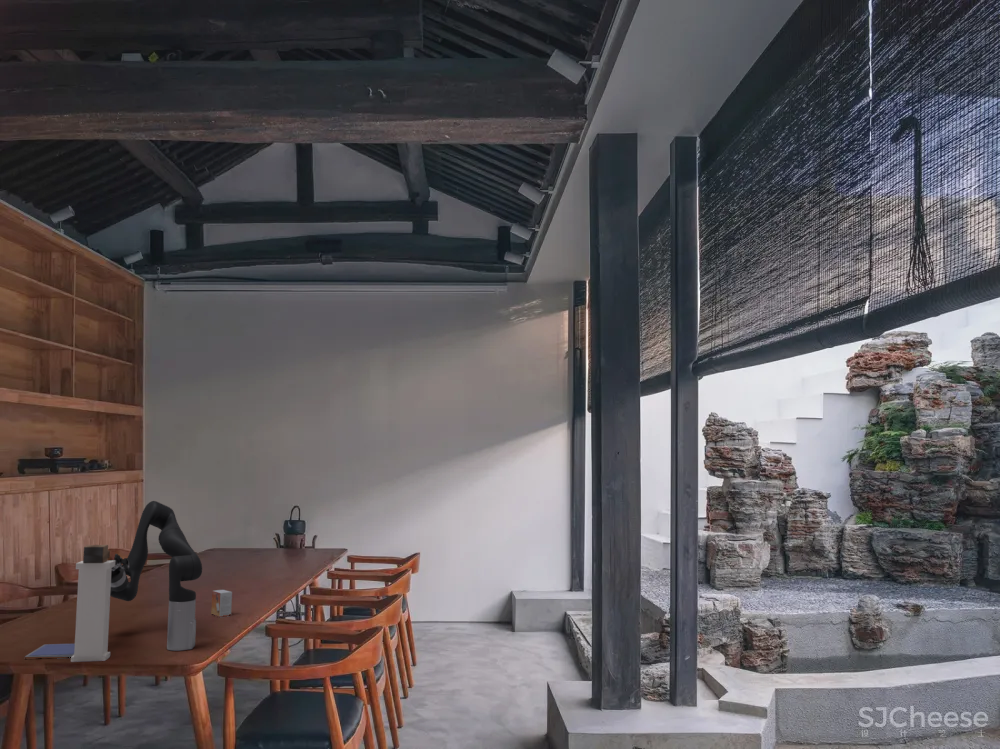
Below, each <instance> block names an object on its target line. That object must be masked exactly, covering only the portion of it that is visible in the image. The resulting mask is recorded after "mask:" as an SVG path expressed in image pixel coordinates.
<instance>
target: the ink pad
mask: <svg viewBox="0 0 1000 749" xmlns="http://www.w3.org/2000/svg"><path fill="white" fill-rule="evenodd" d="M74 649H75V643H51V644H50V643H48V644H47V643H46V644H45V643H44V644H43V645H41V646H39V647H38V648H36V649H34V650H33V651H32V652H30V653H28V654H26V655H25V656H24V658H25V657H69V658H68V659H71V658H70V657H72V656H73V655H74Z"/></svg>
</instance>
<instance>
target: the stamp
mask: <svg viewBox="0 0 1000 749" xmlns="http://www.w3.org/2000/svg"><path fill="white" fill-rule="evenodd" d="M110 552H111V550H109V545H108V544H88V545H86V546H84V547H83V560H82V561H83V563H104V562H106V561H108V559H110Z"/></svg>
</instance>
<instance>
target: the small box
mask: <svg viewBox="0 0 1000 749" xmlns="http://www.w3.org/2000/svg"><path fill="white" fill-rule="evenodd" d="M211 593H212V594H211V608H210V609H211V611H210V615H211V614H214V615H217V616H223V615H229V614H231V615H232V605H233V603H232V601H233V600H232V599H233V591H230V590H226V589H217V590H212V592H211ZM214 615H213V616H214ZM217 616H216V617H217Z"/></svg>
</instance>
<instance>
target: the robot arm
mask: <svg viewBox="0 0 1000 749" xmlns="http://www.w3.org/2000/svg"><path fill="white" fill-rule="evenodd" d="M138 522H139V523H138V526H137V528H136V533H135V535H134V540H133V542H132V545H131V549H130V551H129V553H128V556H127V557H124V558H123V557H121V555H119V554H118V553H115V554H114V556H113V557H114V558H113V559H111V560H108V561H115V567H112V570H111V590H110V598H111V597H112V598H115V599H118V600H122V601H125V602H131V601H132V600H134V599H135V598H136V597H137V594H138V591H139V590H138V589H139V582H140V578H141V574H142V572H143V569H144V567H145V565H146V562H147V560H148V556H149V546H148V531H149V527H150V526H153V527H155V528H157V529H159V530H160V532H159V534H158V543H159V545H160V547H161V549H162V551H163V552H164V553H165V554H166V555H167V556H169V557H171V558H170V560H169V564H168V617H167V635H166V636H167V637H166V638H167V640H166V641H167V642H166V649H167V650H168V651H175V652H176V651H186V650H192V649H193V648H194V647H196V635H197V634H196V631H197V619H196V600H197V593H196V591H194V590H193V589H188V588H185V587H183V586H182V585H181V582H189V581H196V580H198V579H200V577H201V576H202V572H203V564H202V561H201V558H200V557H199V555H198V554H197V552H195V550H194V549H193V548H192V546H191V545H190V543H189V542H188V540H187V538H186V536H185V534H184V532H183V530H182V529H181V527H180V525H179V523H178V520H177V516H176V514H175V512H174V509H173V508H171V507H170V506H167V505H165V504H163V503H161V502H159V501H156V500H151V501H150V502H148V503H147V504H146V505H145V507H144V508H143V511H142V513H141V515H140V518H139V521H138ZM128 577H129V578H130V581H129V578H128Z"/></svg>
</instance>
